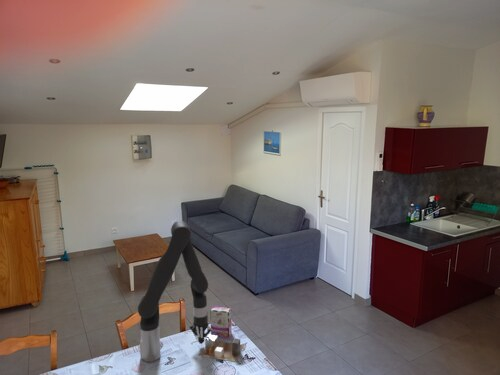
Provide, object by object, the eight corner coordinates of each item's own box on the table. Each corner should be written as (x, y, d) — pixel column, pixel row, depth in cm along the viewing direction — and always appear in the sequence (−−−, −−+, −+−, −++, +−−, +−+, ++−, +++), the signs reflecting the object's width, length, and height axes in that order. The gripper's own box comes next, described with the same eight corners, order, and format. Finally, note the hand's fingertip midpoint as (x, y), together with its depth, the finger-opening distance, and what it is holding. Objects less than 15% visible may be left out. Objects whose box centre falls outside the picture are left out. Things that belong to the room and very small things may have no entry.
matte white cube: (214, 356, 180) (214, 350, 180) (217, 352, 184) (217, 346, 183) (220, 358, 179) (220, 351, 179) (223, 353, 183) (223, 347, 182)
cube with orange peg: (202, 353, 182) (202, 343, 181) (209, 344, 190) (208, 334, 189) (211, 355, 181) (211, 345, 180) (217, 346, 189) (217, 336, 188)
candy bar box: (231, 334, 202) (231, 307, 199) (229, 339, 197) (228, 312, 194) (213, 331, 204) (212, 305, 202) (210, 336, 199) (209, 310, 197)
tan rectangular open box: (199, 356, 182) (198, 342, 181) (210, 341, 195) (209, 328, 194) (235, 364, 176) (235, 349, 175) (244, 347, 189) (243, 334, 188)
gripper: (185, 314, 184) (187, 344, 187) (209, 318, 180) (209, 349, 183) (192, 307, 191) (193, 336, 194) (214, 311, 187) (215, 340, 190)
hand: (201, 342), depth 189 cm, fingers closed
